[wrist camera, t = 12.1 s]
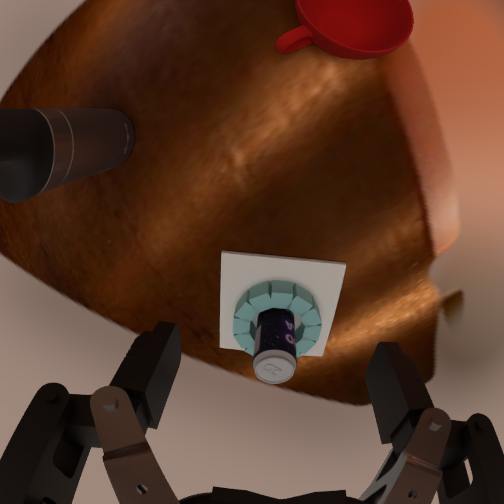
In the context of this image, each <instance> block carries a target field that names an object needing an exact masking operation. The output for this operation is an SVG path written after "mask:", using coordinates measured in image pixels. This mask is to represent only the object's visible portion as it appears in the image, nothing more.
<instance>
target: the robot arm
mask: <svg viewBox="0 0 504 504" xmlns="http://www.w3.org/2000/svg"><path fill="white" fill-rule="evenodd" d="M134 139H135V136H134V128H133V125H132V123H131V121H130V119H129V118H128V117H127V115H126V114H124V113H123V112H121V111H119V110H115V109H102V108H68V107H63V108H31V109H12V108H0V197H1V198H2V199H4V200H5V201H7V202H11V203H18V202H22V201H24V200H27V199H29V198H32V197H34V196H37V195H39V194H42V193H44V192H47V191H49V190H52V189H54V188H57V187H59V186H62V185H65V184H68V183H71V182H73V181H76V180H79V179H82V178H85V177H88V176H91V175H94V174H97V173H101V172H104V171H107V170H110V169H114V168H116V167H118V166H120V165H122V164H123V163H124V162H125V161H126V160H127V158H128V157H129V155H130V153H131V151H132V149H133V145H134ZM180 361H181V344H180V333H179V325H178V324H177V323H171V322H165V321H159V322H158V323H157V325H156V327H155V328H154V330H153V332H148V331H145V332H143V333H142V334H141V335H139V336H138V337H137V338H136V339H135V340H134V343H133V344H132V346H131V348H130V350H129V351H128V353H127V354H126V357H125V358H124V360H123V361H122V363H121V365H120V367H119V368H118V370H117V372H116V374H115V376H114V378H113V379H112V381H111V383H110V385H109V386H105V387H102V388H100V389H98V390H96V391H95V392H94V393H93V394H92V395H79V394H69V392H68V391H67V389H66V388H65V387H64V386H63V385H61V384H59V383H48V384H45V385H43V386H42V387H41V388H40V389H39V390H38V391H37V393H36V395H35V396H34V398H33V399H32V401H31V403H30V405H29V406H28V408H27V410H26V411H25V413H24V415H23V417H22V419H21V420H20V422H19V424H18V426H17V428H16V430H15V432H14V433H13V435H12V437H11V439H10V441H9V443H8V445H7V447H6V449H5V451H4V453H3V456H2V457H1V459H0V504H72V501H73V498H74V495H75V492H76V488H77V485H78V483H79V480H80V477H81V474H82V471H83V468H84V466H85V463H86V460H87V457H88V455H89V452H90V449H91V447H97V448H102V449H103V452H104V456H103V462H104V465H105V468H106V471H107V474H108V476H109V479H110V482H111V484H112V487H113V489H114V491H115V494H116V496H117V498H118V501H119V503H120V504H431V502H432V500H433V497H434V495H435V493H436V491H437V492H438V498H439V503H440V504H504V454H503V451H502V448H501V446H500V443H499V440H498V437H497V435H496V432H495V430H494V427H493V425H492V423H491V421H490V419H489V418H488V417H487V416H485V415H483V414H480V413H476V414H473V415H472V416H471V417H470V418H469V419H468V420H467V421H466V422H465V421H456V420H450V417H449V416H448V414H447V413H446V412H444V411H443V410H441V409H439V408H435V407H434V405H433V403H432V400H431V398H430V395H429V393H428V391H427V389H426V386H425V384H424V382H423V381H422V377H421V375H420V373H419V371H418V368H417V366H416V364H415V362H414V361H413V360H412V359H411V358H410V357H409V356H408V355H407V354H403V352H402V350H401V348H400V346H399V344H398V343H397V342H380V343H378V345H377V347H376V349H375V352H374V354H373V356H372V358H371V360H370V363H369V365H368V367H367V370H366V384H367V387H368V391H369V395H370V398H371V402H372V406H373V410H374V414H375V418H376V422H377V426H378V430H379V434H380V439H381V443H382V444H388V443H392V446H393V448H392V449H391V451H390V452H389V454H388V456H387V458H386V460H385V461H384V463H383V465H382V466H381V468H380V470H379V472H378V473H377V475H376V477H375V478H374V480H373V481H372V483H371V485H370V486H369V487H368V488H367V490H366V491H365V492H364V493H363V494H362V495H361V497H360V498H359V499H356V498H352V497H347V496H346V490H338V491H325V492H313V493H309V494H305V495H301V496H296V497H292V498H287V499H276V498H272V497H268V496H264V495H260V494H257V493H254V492H250V491H247V490H238V489H229V488H221V487H213V490H212V492H210V493H201V494H196V495H192V496H188V497H186V498H183V499H181V500H179V501H178V499H177V497H176V496H175V494H174V492H173V491H172V489H171V487H170V485H169V483H168V482H167V480H166V478H165V476H164V475H163V472H162V470H161V468H160V467H159V465H158V463H157V461H156V459H155V457H154V454H153V452H152V450H151V448H150V446H149V444H148V442H147V440H146V438H145V434H146V431H147V428H148V427H149V428H154V429H157V427H158V424H159V421H160V418H161V416H162V413H163V410H164V407H165V404H166V401H167V398H168V396H169V393H170V390H171V387H172V385H173V382H174V379H175V376H176V374H177V371H178V368H179V365H180ZM467 459H468V460H469V464H470V467H471V471H472V475H473V481H472V484H471V485H470V482H469V478H468V474H467V470H466V467H465V463H464V461H465V460H467Z"/></svg>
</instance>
